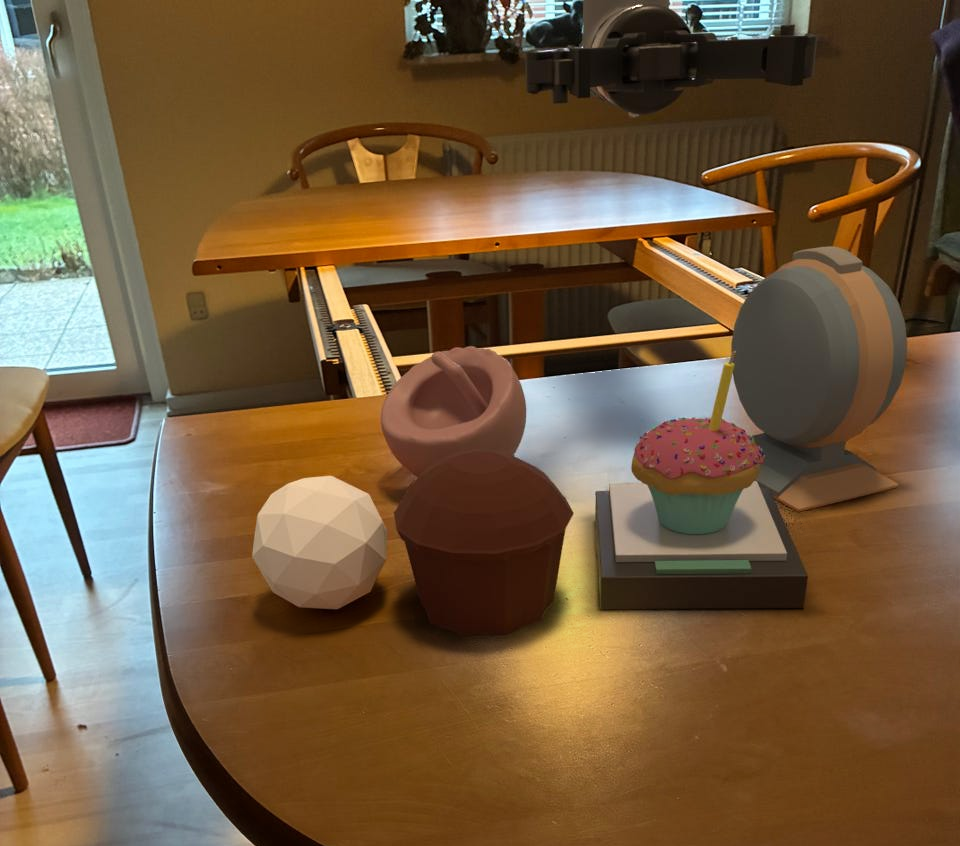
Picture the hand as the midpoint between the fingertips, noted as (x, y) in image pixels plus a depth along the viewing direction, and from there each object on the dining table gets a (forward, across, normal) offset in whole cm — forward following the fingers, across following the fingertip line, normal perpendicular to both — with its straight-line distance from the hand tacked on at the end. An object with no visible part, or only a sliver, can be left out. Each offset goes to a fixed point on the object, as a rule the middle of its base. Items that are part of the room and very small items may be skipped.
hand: (691, 67), depth 62 cm
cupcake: (+10, 0, -27) cm, 29 cm away
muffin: (+14, +15, -30) cm, 37 cm away
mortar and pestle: (-7, +17, -30) cm, 35 cm away
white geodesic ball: (+12, +25, -30) cm, 41 cm away
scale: (+10, 0, -30) cm, 32 cm away
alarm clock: (-5, -12, -30) cm, 33 cm away
